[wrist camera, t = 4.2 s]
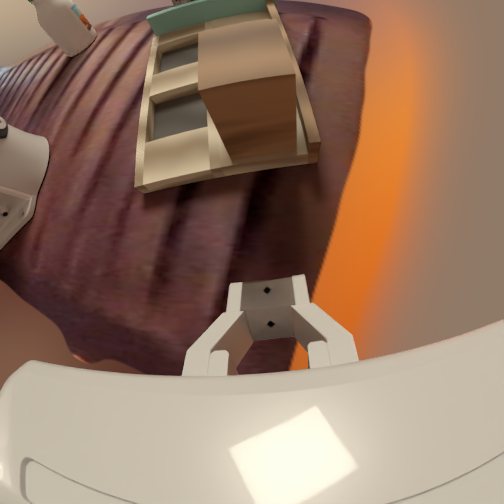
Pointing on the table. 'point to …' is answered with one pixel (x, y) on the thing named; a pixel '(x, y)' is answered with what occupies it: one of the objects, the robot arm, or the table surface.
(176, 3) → the coffee box
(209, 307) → the table surface
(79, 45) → the milk bottle
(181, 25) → the end stop
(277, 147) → the walnut block
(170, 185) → the board
